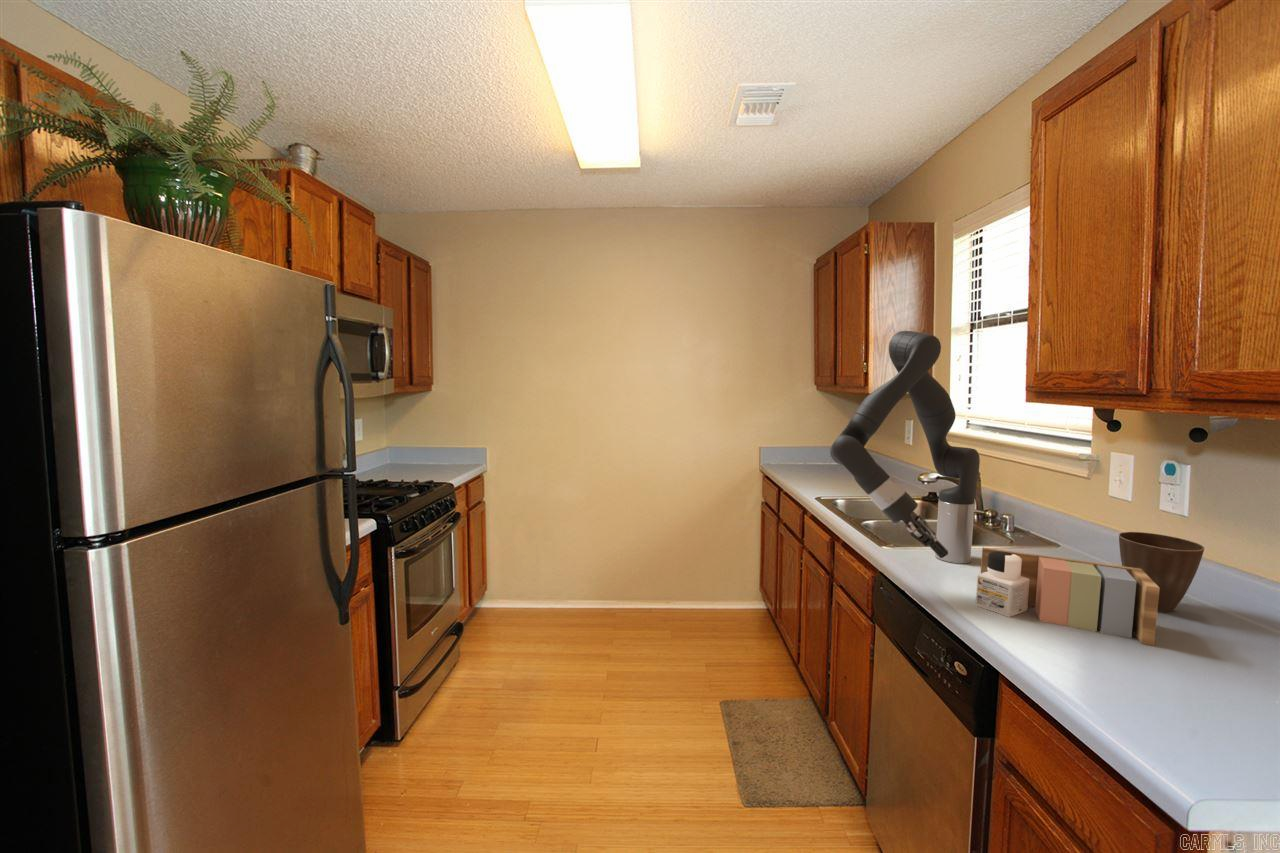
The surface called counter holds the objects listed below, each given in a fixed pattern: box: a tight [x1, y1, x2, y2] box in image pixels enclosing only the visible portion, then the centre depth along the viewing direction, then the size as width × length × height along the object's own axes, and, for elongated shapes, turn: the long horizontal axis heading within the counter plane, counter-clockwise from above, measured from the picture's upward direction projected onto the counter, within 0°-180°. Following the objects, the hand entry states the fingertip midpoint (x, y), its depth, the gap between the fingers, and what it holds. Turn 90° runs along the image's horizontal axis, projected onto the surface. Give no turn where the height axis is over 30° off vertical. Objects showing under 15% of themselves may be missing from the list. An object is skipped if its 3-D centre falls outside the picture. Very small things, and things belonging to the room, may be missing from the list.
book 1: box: [1034, 557, 1072, 627], centre depth 130 cm, size 9×5×12 cm, turn 151°
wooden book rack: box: [980, 547, 1160, 647], centre depth 128 cm, size 14×30×12 cm, turn 61°
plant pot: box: [1118, 531, 1205, 613], centre depth 136 cm, size 15×15×16 cm
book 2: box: [1066, 561, 1101, 632], centre depth 127 cm, size 9×5×12 cm, turn 151°
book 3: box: [1096, 565, 1136, 639], centre depth 124 cm, size 9×5×12 cm, turn 151°
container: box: [975, 551, 1030, 618], centre depth 133 cm, size 8×8×13 cm
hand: (945, 555), depth 139 cm, fingers closed
